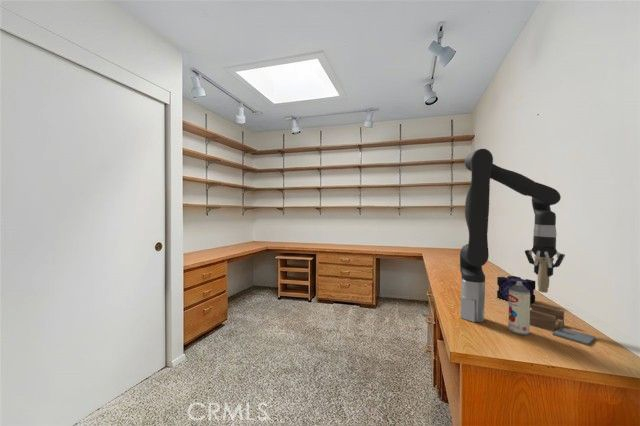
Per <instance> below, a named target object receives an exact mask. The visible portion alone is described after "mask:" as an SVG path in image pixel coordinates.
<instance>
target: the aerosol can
mask: <svg viewBox="0 0 640 426" xmlns="http://www.w3.org/2000/svg"><path fill="white" fill-rule="evenodd" d="M530 310H531V304H530V291H529V290H527V288H526V287H524V286H523V285H522V282H520V281H517V284H515V285H513V286H512V287H510V289H509V301H508V321H507V322H508V324H507V327H508V331H509V332H511V333H512V332H513V334H515V335H518V334H519V335H520V336H529V335H530V327H531V325H530ZM519 335H518V336H519Z"/></svg>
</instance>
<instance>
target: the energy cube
mask: <svg viewBox="0 0 640 426" xmlns="http://www.w3.org/2000/svg"><path fill="white" fill-rule="evenodd" d="M517 281H520V282H522V285H523V286H524V287H526V288H527V290H529V291H530V305H532V304H533V303H535V304H536V295H535V294H534V293H535V290H536V280H533V279H528V278H525V279H523V278H521V277H519V276H514V275H507V276H506V277H505V276H497V281H496V283H497V286H498V290H496V291H497V292H496V299H498V298H499V299H498V300H501V299H502V300H501V301H504V300H506V301H507V302H509V289H510V287H512V286H513V285H515V284H517Z"/></svg>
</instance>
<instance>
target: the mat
mask: <svg viewBox="0 0 640 426" xmlns="http://www.w3.org/2000/svg"><path fill="white" fill-rule="evenodd" d="M552 336H555V337H559V338H561V339H564V340H568V341H571V342H573V343H574V342H575V343H578V344H582V345H584V346H590V345H591V344H592V343H593V342H594V340H595V339H596V336H595V335H591V334H587V333H584V332H579V331H576V330H573V329H569V328H565V327H563V326H562V327H560V328H559V329H557V330H556V331H555V332H553V331H552Z"/></svg>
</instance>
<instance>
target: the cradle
mask: <svg viewBox="0 0 640 426" xmlns="http://www.w3.org/2000/svg"><path fill="white" fill-rule="evenodd" d="M530 326H533V327H535V328H540V329H543V330H547V331H551V332H552V333H553V332H555V331H556V330H557V329H559V328H560V327H563V326H565V311H564V310H561V309H556V308H552V307H548V306H543V305H540V304H536V303H535V304H531V309H530Z"/></svg>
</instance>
